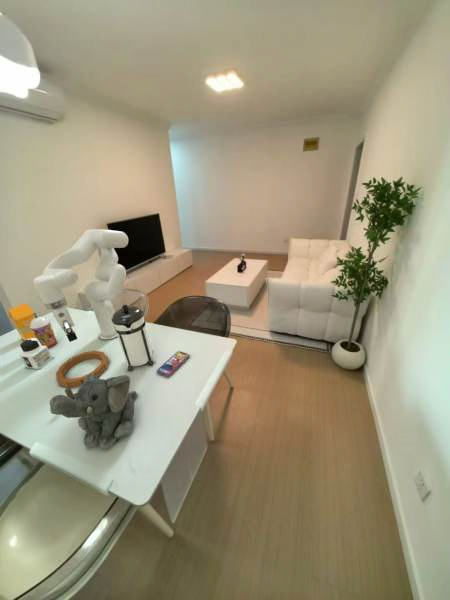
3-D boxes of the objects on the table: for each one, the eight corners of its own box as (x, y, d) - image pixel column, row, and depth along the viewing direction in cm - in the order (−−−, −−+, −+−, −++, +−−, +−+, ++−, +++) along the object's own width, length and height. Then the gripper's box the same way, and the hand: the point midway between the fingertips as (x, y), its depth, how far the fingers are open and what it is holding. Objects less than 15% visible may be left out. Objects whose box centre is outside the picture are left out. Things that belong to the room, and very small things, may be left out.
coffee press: (164, 354, 111) (152, 299, 98) (139, 376, 99) (121, 316, 85) (139, 345, 119) (124, 293, 106) (113, 364, 106) (93, 308, 93)
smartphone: (156, 372, 100) (178, 352, 112) (169, 377, 97) (190, 356, 108) (156, 370, 100) (178, 350, 111) (168, 375, 96) (190, 354, 108)
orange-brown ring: (100, 350, 117) (99, 345, 116) (114, 369, 103) (112, 364, 102) (55, 370, 105) (52, 365, 104) (63, 395, 92) (60, 390, 90)
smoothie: (39, 351, 119) (22, 319, 110) (42, 343, 126) (26, 312, 117) (58, 346, 122) (42, 314, 113) (60, 338, 129) (45, 307, 120)
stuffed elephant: (82, 471, 66) (43, 407, 54) (82, 416, 83) (53, 357, 71) (148, 437, 74) (128, 375, 62) (136, 393, 90) (119, 337, 79)
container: (39, 369, 107) (26, 347, 101) (26, 367, 108) (13, 345, 102) (53, 358, 113) (42, 336, 108) (40, 356, 115) (29, 335, 109)
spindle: (77, 394, 92) (72, 383, 89) (80, 400, 89) (74, 389, 86) (66, 400, 89) (60, 389, 87) (68, 406, 87) (62, 395, 84)
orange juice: (21, 338, 131) (4, 308, 122) (39, 330, 138) (24, 301, 129) (27, 342, 127) (10, 311, 118) (45, 334, 134) (30, 304, 125)
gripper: (70, 306, 93) (84, 339, 101) (62, 294, 105) (75, 325, 113) (48, 313, 89) (65, 348, 97) (42, 300, 101) (58, 331, 109)
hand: (71, 335), depth 105 cm, fingers open, 9 cm apart
